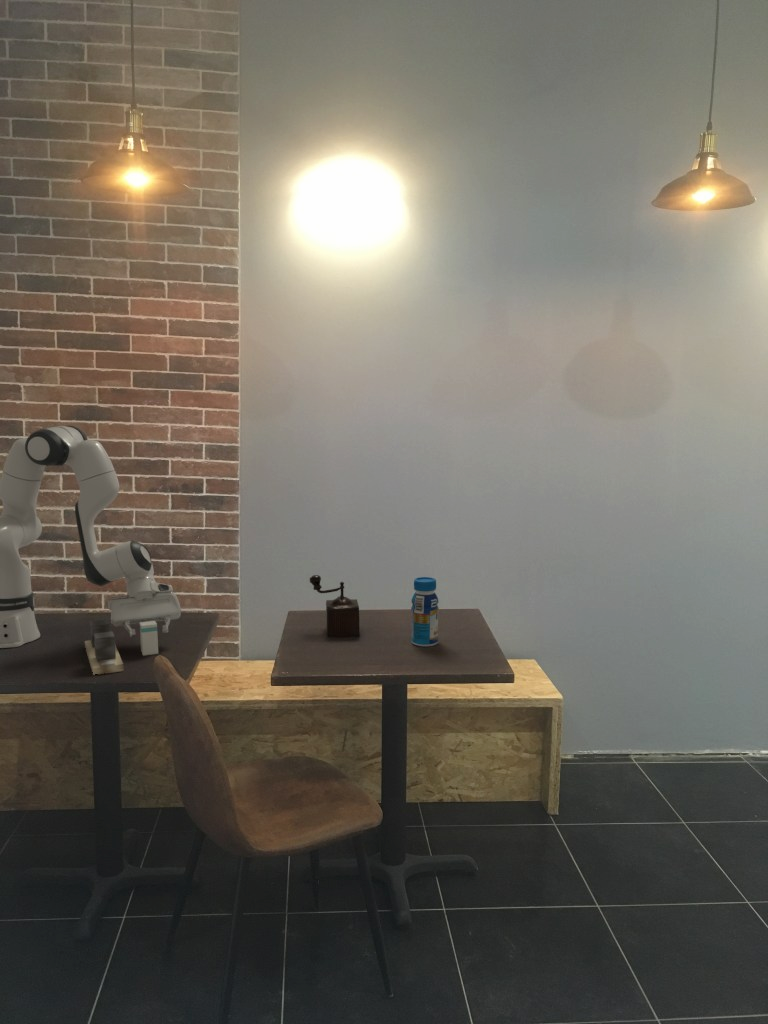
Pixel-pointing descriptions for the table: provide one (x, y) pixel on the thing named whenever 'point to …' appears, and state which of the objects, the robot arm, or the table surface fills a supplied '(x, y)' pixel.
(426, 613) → the beverage bottle
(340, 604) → the manual coffee grinder
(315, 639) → the table surface
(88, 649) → the rail board
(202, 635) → the table surface
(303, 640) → the table surface
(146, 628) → the block
